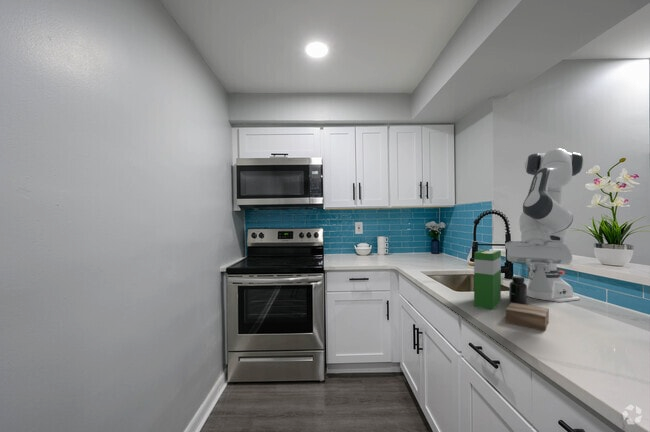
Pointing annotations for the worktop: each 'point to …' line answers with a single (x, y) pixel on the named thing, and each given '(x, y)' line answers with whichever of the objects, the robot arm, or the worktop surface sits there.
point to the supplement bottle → (518, 290)
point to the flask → (540, 280)
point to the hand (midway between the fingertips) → (540, 270)
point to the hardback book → (487, 279)
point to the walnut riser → (527, 316)
